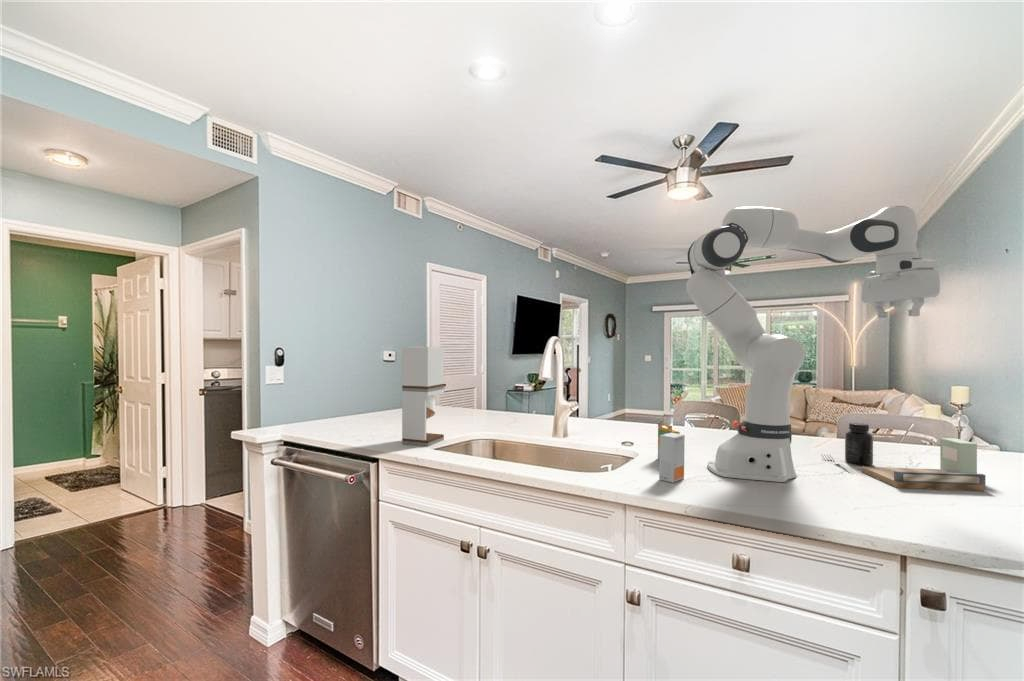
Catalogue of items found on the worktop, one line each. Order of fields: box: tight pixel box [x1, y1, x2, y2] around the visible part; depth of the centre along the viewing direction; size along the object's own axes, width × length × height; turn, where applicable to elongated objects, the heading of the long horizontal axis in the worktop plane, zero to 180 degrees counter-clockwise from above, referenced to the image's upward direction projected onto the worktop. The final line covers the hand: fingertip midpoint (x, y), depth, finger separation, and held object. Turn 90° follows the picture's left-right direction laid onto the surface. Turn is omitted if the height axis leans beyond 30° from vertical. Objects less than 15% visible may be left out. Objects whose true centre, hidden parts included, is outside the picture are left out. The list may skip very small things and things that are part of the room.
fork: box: [820, 453, 856, 475], centre depth 133 cm, size 3×24×2 cm, turn 167°
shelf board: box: [861, 466, 986, 491], centre depth 121 cm, size 20×14×4 cm
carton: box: [939, 437, 978, 474], centre depth 124 cm, size 4×6×10 cm, turn 173°
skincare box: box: [658, 433, 685, 484], centre depth 123 cm, size 6×4×12 cm
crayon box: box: [657, 421, 681, 460], centre depth 141 cm, size 7×3×12 cm, turn 16°
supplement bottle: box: [844, 422, 874, 467], centre depth 139 cm, size 7×7×12 cm
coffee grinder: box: [401, 346, 445, 447], centre depth 168 cm, size 11×11×35 cm
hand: (897, 317), depth 125 cm, fingers open, 8 cm apart
